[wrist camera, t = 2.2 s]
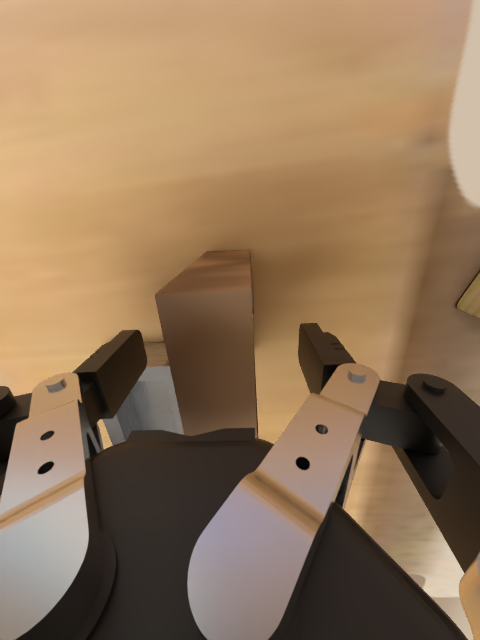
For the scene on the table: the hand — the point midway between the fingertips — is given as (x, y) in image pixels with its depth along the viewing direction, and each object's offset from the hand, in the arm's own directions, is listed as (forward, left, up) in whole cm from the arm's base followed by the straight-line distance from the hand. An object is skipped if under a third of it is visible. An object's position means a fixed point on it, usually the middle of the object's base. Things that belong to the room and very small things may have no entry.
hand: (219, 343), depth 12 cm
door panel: (0, 0, -7) cm, 7 cm away
